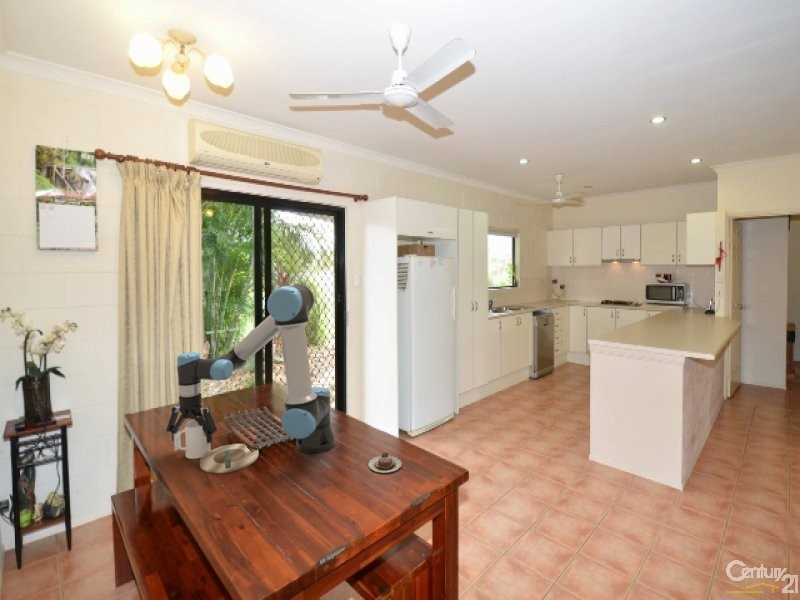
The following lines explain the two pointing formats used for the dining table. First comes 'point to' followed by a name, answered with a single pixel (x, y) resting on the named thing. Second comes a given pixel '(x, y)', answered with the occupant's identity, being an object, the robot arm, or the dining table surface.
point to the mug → (193, 440)
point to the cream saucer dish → (228, 458)
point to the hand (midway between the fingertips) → (192, 449)
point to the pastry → (385, 463)
